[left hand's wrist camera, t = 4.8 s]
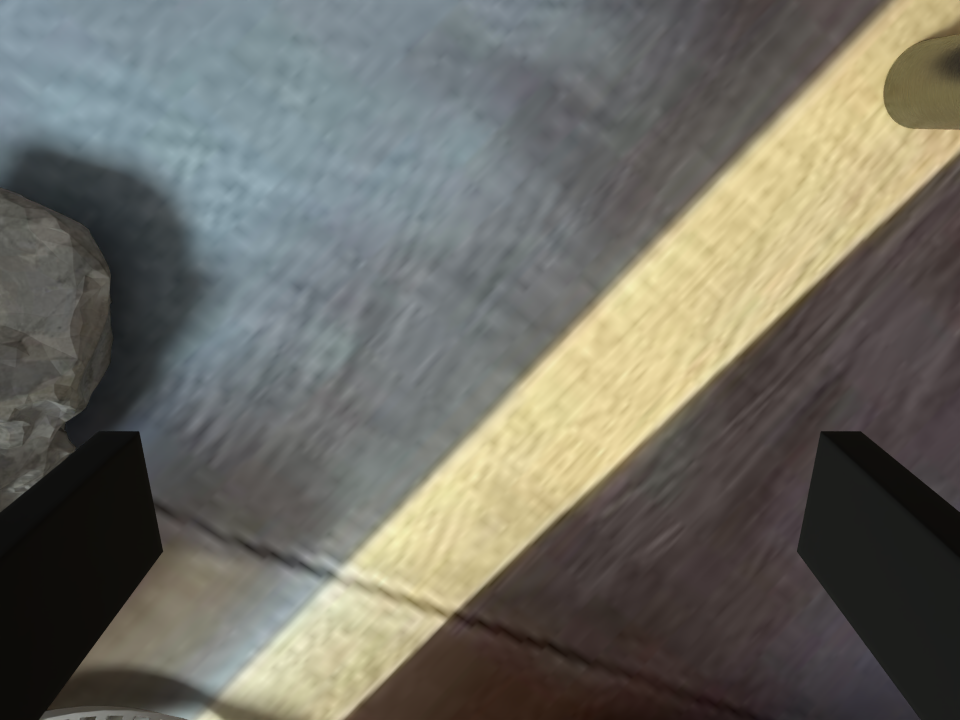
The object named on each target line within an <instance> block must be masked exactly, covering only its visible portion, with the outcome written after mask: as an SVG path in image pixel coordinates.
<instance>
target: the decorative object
mask: <svg viewBox="0 0 960 720" xmlns="http://www.w3.org/2000/svg"><path fill="white" fill-rule="evenodd" d="M93 716H96V719H95V720H110V716H123V718H122V720H134V719H135V716H136V717H147V718H150V719H149V720H160V719H161V720H187V719H184V718H179V717H174V716H169V715H165V714H161V713H158V712H152V711H147V710H142V709H136V708H128V707H116V706H80V707H71V708H62V709H54V710H50V711H45V712H44V714H43V715H42V717H41V718H40V719H39V720H67V719H69V720H86V717H93Z"/></svg>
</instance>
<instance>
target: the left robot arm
mask: <svg viewBox="0 0 960 720" xmlns="http://www.w3.org/2000/svg"><path fill="white" fill-rule="evenodd" d="M162 552H163V549H162V544H161V539H160V534H159V529H158V524H157V519H156V514H155V509H154V504H153V499H152V494H151V489H150V483H149V478H148V473H147V468H146V463H145V458H144V453H143V448H142V443H141V438H140V433H139V431H99V432H98V433H97V434H96V435H94V436H93V437H92V438H91V439H89V440H88V441H87V442H86V443H85V444H83V445H82V446H81V447H80V448H78V449H77V450H76V451H75V452H74V453H72V454H71V455H70V456H69V457H67V458H66V459H65V460H64V461H62V462H61V463H60V464H59V465H58V466H56V467H55V468H54V469H53V470H51V471H50V472H49V473H48V474H47V475H45V476H44V477H43V478H42V479H40V480H39V481H38V482H37V483H36V484H34V485H33V486H32V487H31V488H29V489H28V490H27V491H26V492H25V493H23V494H22V495H21V496H20V497H18V498H17V499H16V500H15V501H13V502H12V503H11V504H10V505H9V506H7V507H6V508H5V509H4V510H2V511H1V512H0V720H39V719H40V718H41V717H42V715H43V714H44V712H45V711H46V710H47V708H48V707H49V706H50V704H51V703H52V702H53V700H54V699H55V698H56V696H57V695H58V693H59V692H60V691H61V689H62V688H63V687H64V685H65V684H66V683H67V681H68V680H69V679H70V677H71V676H72V674H73V673H74V672H75V670H76V669H77V668H78V666H79V665H80V664H81V662H82V661H83V660H84V658H85V657H86V655H87V654H88V653H89V651H90V650H91V649H92V647H93V646H94V645H95V643H96V642H97V640H98V639H99V638H100V636H101V635H102V634H103V632H104V631H105V630H106V628H107V627H108V626H109V624H110V623H111V621H112V620H113V619H114V617H115V616H116V615H117V613H118V612H119V611H120V609H121V608H122V607H123V605H124V604H125V602H126V601H127V600H128V598H129V597H130V596H131V594H132V593H133V592H134V590H135V589H136V587H137V586H138V585H139V583H140V582H141V581H142V579H143V578H144V577H145V575H146V574H147V573H148V571H149V570H150V568H151V567H152V566H153V564H154V563H155V562H156V560H157V559H158V558H159V556H160V555H161V554H162ZM797 552H798V554H799V555H800V556H801V558H802V559H803V560H804V562H805V563H806V564H807V566H808V567H809V568H810V570H811V571H812V573H813V574H814V575H815V577H816V578H817V579H818V581H819V582H820V583H821V585H822V586H823V587H824V589H825V590H826V592H827V593H828V594H829V596H830V597H831V598H832V600H833V601H834V602H835V604H836V605H837V607H838V608H839V609H840V611H841V612H842V613H843V615H844V616H845V617H846V619H847V620H848V621H849V623H850V624H851V626H852V627H853V628H854V630H855V631H856V632H857V634H858V635H859V636H860V638H861V639H862V640H863V642H864V643H865V645H866V646H867V647H868V649H869V650H870V651H871V653H872V654H873V655H874V657H875V658H876V660H877V661H878V662H879V664H880V665H881V666H882V668H883V669H884V670H885V672H886V673H887V674H888V676H889V677H890V679H891V680H892V681H893V683H894V684H895V685H896V687H897V688H898V689H899V691H900V692H901V693H902V695H903V696H904V698H905V699H906V700H907V702H908V703H909V704H910V706H911V707H912V708H913V710H914V711H915V713H916V714H917V715H918V717H919V718H920V719H921V720H960V512H959V511H958V510H956V509H955V508H954V507H953V506H951V505H950V504H949V503H948V502H947V501H945V500H944V499H943V498H942V497H940V496H939V495H938V494H937V493H935V492H934V491H933V490H932V489H931V488H929V487H928V486H927V485H926V484H924V483H923V482H922V481H921V480H920V479H918V478H917V477H916V476H915V475H913V474H912V473H911V472H910V471H909V470H907V469H906V468H905V467H904V466H902V465H901V464H900V463H899V462H898V461H896V460H895V459H894V458H893V457H891V456H890V455H889V454H888V453H886V452H885V451H884V450H883V449H882V448H880V447H879V446H878V445H877V444H875V443H874V442H873V441H872V440H871V439H869V438H868V437H867V436H866V435H864V434H863V433H862V432H861V431H821V433H820V438H819V443H818V448H817V453H816V458H815V463H814V468H813V473H812V478H811V483H810V489H809V494H808V499H807V504H806V509H805V514H804V519H803V524H802V529H801V534H800V539H799V544H798V549H797Z"/></svg>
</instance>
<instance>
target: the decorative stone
mask: <svg viewBox="0 0 960 720" xmlns="http://www.w3.org/2000/svg"><path fill="white" fill-rule="evenodd" d="M110 280H111V273H110V269H109V266H108V264H107V262H106V260H105V258H104V256H103V254H102V252H101V251H100V249H99V247H98V246H97V244H96V242H95V240H94V239H93V237H92V235H91V234H90V231H89V229H88V228H86V227H85V226H83V225H82V224H81V223H79V222H77V221H75V220H73V219H71V218H69V217H66V216H64V215H62V214H60V213H58V212H56V211H54V210H51V209H49V208H47V207H45V206H43V205H40V204H38V203H36V202H33V201H31V200H28V199H26V198H25V197H23V196H22V195H20V194H18V193H15V192H12V191H9V190H6V189H3V188H0V512H1V511H2V510H4V509H5V508H6V507H7V506H9V505H10V504H11V503H12V502H13V501H15V500H16V499H17V498H18V497H20V496H21V495H22V494H23V493H25V492H26V491H27V490H28V489H29V488H31V487H32V486H33V485H34V484H36V483H37V482H38V481H39V480H40V479H42V478H43V477H44V476H45V475H47V474H48V473H49V472H50V471H51V470H53V469H54V468H55V467H56V466H58V465H59V464H60V463H61V462H62V461H64V460H65V459H66V458H67V457H68V456H69V455H70V454H71V453H73V452H75V449H76V447H75V446H74V445H73V444H72V443H71V441H70V440H69V439H68V436H67V432H66V431H65V430H64V429H65V422H67V421H69V420H70V419H71V418H73V417H74V416H76V415H77V414H79V413H80V412H82V411H83V410H84V409H85V408H86V407H87V405H88V403H89V400H90V397H91V394H92V392H93V391H94V390H95V388H96V387H97V386H98V384H99V383H100V381H101V379H102V378H103V376H104V374H105V372H106V371H107V368H108V366H109V364H110V362H111V347H112V344H113V334H112V329H111V312H110V303H112V300H111V298H110V295H109V292H110Z"/></svg>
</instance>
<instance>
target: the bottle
mask: <svg viewBox="0 0 960 720" xmlns="http://www.w3.org/2000/svg"><path fill="white" fill-rule="evenodd" d="M884 103H885V106H886V109H887V111H888V113H889V115H890V116H891V118H892V119H893V120H894V121H895V122H897V123H898V124H900V125H902V126H904V127H907V128H912V129H955V130H960V34H957V35H951V36H946V37H940V38H935V39H929V40H925V41H922V42H919V43H917V44H915V45H913V46H911V47H910V48H909V49H907V50H906V51H905V52H904V53H902V54H901V55H900V56H899V58H898V59H897V60H896V61H895V63H894V64H893V65H892V67H891V69H890V71H889V73H888V75H887V78H886V81H885V85H884Z"/></svg>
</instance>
